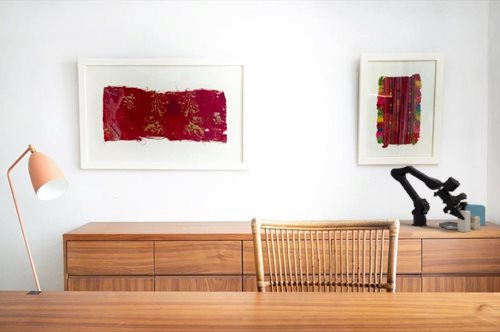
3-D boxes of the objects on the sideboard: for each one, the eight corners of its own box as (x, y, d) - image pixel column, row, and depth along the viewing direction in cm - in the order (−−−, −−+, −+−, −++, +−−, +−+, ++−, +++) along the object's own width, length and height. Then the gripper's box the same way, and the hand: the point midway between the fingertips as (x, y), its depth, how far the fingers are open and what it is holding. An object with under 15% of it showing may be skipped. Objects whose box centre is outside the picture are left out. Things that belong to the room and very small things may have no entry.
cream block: (457, 231, 231) (457, 210, 231) (461, 230, 234) (462, 210, 234) (466, 232, 228) (466, 211, 228) (470, 231, 231) (470, 210, 231)
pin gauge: (442, 225, 244) (441, 228, 244) (440, 224, 243) (439, 226, 243) (459, 228, 236) (458, 230, 236) (458, 226, 235) (457, 229, 235)
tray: (439, 226, 245) (439, 223, 245) (448, 225, 252) (448, 221, 252) (458, 229, 237) (458, 225, 237) (467, 227, 243) (467, 223, 243)
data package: (483, 224, 254) (483, 204, 253) (485, 225, 249) (485, 205, 249) (461, 223, 257) (461, 204, 257) (462, 224, 253) (463, 204, 253)
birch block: (463, 228, 239) (464, 216, 238) (468, 227, 242) (468, 215, 242) (474, 230, 234) (475, 217, 234) (479, 229, 238) (479, 216, 237)
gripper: (448, 188, 228) (469, 211, 220) (464, 187, 240) (485, 208, 231) (434, 202, 234) (454, 224, 226) (451, 200, 246) (470, 221, 237)
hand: (466, 219), depth 230 cm, fingers closed on cream block, 5 cm apart
